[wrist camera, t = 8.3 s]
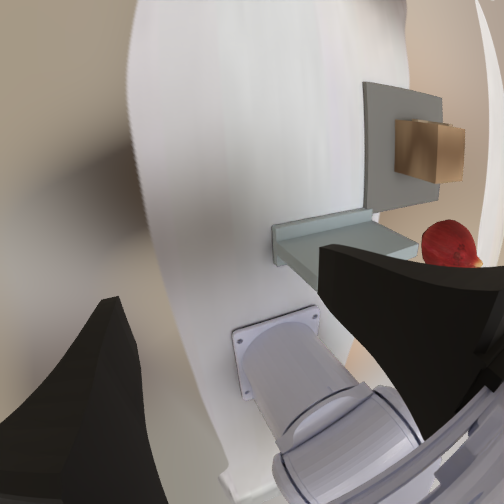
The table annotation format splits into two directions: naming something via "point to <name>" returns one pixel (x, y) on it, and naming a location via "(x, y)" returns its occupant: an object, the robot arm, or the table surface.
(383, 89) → the grey square plate
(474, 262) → the onion
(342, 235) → the screen
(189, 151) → the table surface
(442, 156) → the taped cardboard box
